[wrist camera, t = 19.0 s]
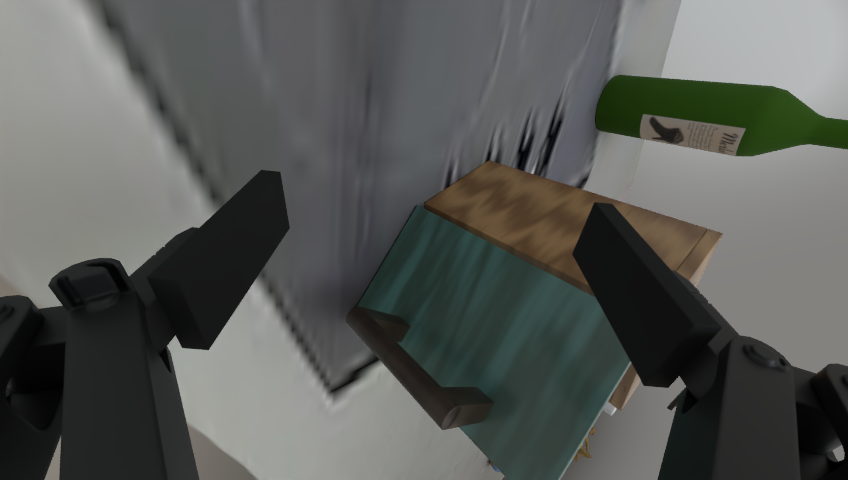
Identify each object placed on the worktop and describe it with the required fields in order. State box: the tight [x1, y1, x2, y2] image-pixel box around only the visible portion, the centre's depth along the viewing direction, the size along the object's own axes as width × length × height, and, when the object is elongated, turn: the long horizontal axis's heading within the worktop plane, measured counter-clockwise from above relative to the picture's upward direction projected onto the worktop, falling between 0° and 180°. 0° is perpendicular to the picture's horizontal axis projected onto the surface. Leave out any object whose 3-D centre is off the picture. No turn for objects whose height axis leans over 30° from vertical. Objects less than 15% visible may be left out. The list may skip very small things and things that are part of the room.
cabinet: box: [424, 161, 723, 410], centre depth 37 cm, size 11×14×24 cm
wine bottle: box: [596, 75, 848, 156], centre depth 47 cm, size 9×9×32 cm
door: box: [346, 206, 631, 480], centre depth 27 cm, size 7×14×24 cm, turn 138°
